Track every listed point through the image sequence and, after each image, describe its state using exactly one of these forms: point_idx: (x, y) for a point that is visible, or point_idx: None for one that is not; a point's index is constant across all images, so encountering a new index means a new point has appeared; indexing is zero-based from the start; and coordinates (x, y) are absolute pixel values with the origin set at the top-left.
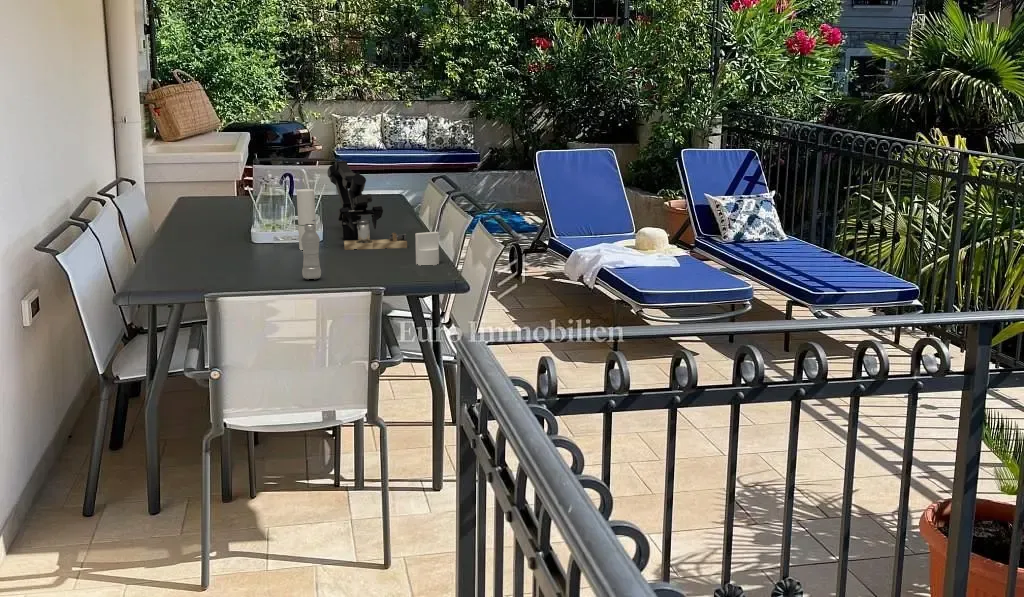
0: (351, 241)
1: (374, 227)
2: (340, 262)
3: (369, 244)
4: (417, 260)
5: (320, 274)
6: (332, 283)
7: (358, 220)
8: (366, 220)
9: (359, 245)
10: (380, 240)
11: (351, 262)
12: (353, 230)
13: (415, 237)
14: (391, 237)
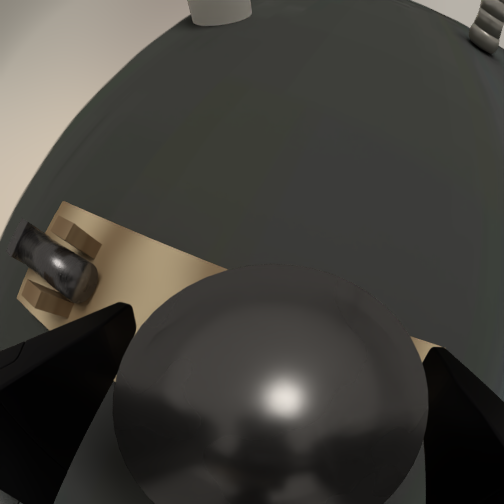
0: None
1: (125, 331)
2: (457, 100)
3: None
4: (250, 3)
5: (469, 32)
6: (444, 20)
7: (364, 491)
8: (194, 395)
9: None
10: None
11: (425, 81)
12: (427, 367)
13: None
14: (81, 257)
